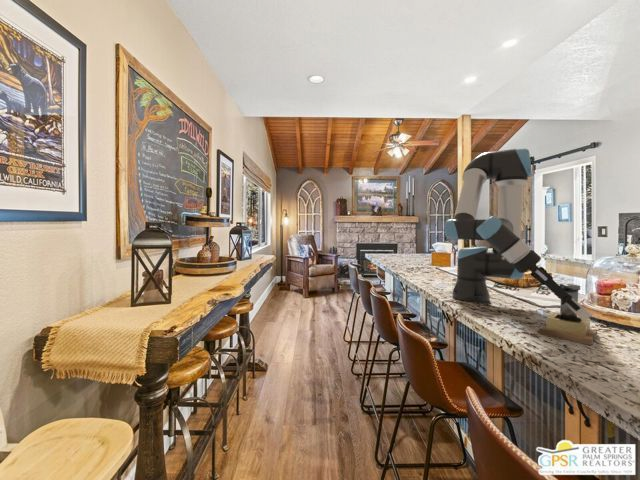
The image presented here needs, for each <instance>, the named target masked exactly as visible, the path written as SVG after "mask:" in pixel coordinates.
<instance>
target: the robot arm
mask: <svg viewBox="0 0 640 480" xmlns="http://www.w3.org/2000/svg"><path fill="white" fill-rule="evenodd" d="M532 172H533V171H532V162H531V155H530V150H529V149H527V148H512V149H505V150H504V149H503V150H497V151H486V152H483V153H481V154H479V155H478V156H476V157H475V158H473V159H472V160H471V161H470V162H468V165H467V166H466V167H465V168H464V170H463V173H462V177H461V178H462V181H463V183H462V187H461V190H460V193H459V198H458V201H457V205H456V209H455V212H454V216H453V218H450V219H447V220H446V221H445V223H444V229H443V230H444V234H445V235H444V236H445V238H447V239H449V240H450V239H451V240H457V241H458V240H465V241H466V240H472V241H485V242H486V243H488V245H489V246H491V248H492V250H490V249H488V247H487V246H474V247H463V248H459V250H458V253H457V269H456V271H457V273H456V274H457V275H456V282H455V285H454V286H453V290H452V295H451V296H452V298H453V299H456V300H460V301H464V302H471V303H485V302H486V303H487V302H490V297H491V296H490V293H489V289H488V286H487V282H486V281H487V280H486V279H487V278H486V277H489V278H498V279H499V278H500V279H509V280H521V279H523V278H524V276H525V274H526V272H527V271H530V272H531V273H529V275H530V276H531V277H532V278H533V279H535V280H537V281H538V282H539V283H540V284H541V285H542V286H546V287H547V288H548V290H550V291H551V292H552V293H553V295H555V296H556V298H558V299H559V300H560V301H561V300H562V303H561V302H560V305H561V304H562V305H563V304H565V305H567V306H568V307H569V308H570V309H571V310H572V311H573V312H574V313H575V314H576V315H577V316H578V317H579V318H580V319H582V320H583V321H584V320H586V319H587V318H589V319H590V317H592V316H593V315H592V314H591V313H590V312H589V311H588V310H587V309H586V308H585V307H584V306H582V304H581V303H579V301H578V302H577V301H576V300H575V299H574V298H572V296H571V295H569V294H568V293H567V292H566V291H565V290H564V289H562V288H561V287H560V284H558V283H557V282H556V281H555V280H554V277H553V276H552V275H550V274H549V273H548V272H547V270H546V269H545V268H544V267H543V266H538V265H537V264H538V263H540V261H541V259H542V257H541V256H540V255H539V254H538V253H537V252H536V251H534V250H533V249H531V247H530V245H528V244H527V243H526V242H525V241H524V240H523V239H522V237H521V236H522V235H521V234H522V233H521V232H522V213H523V187H524V185H525V184H526V183H528V178H531V177H532V176H533V174H532ZM487 180H494V183H495V184H496V186H498V199H497V200H498V201H497V217H496V216H495V215H491V216H490V217H488V218H487V219H476V218H477V213H478V209H479V203H480V199H481V196H482V195H481V194H482V192H483V187H484V186H483V185H484V184H485V183H486V182H487Z"/></svg>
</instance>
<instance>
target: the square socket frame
mask: <svg viewBox="0 0 640 480" xmlns="http://www.w3.org/2000/svg"><path fill="white" fill-rule="evenodd" d="M546 323H547V324H546V329H548V330H553V331H558V332H563V333H567V334H572V335H577V336H582V337H585V336H586V335H587V333H588V332H589V330H590V329H591V318H590V317H589V318H587V319H586V320H584V321H583V320H582V319H580V318H579V317H578V316H577V322H574V321H569V320H563V319H560V312H553V311H552V313H551V314H549V315H548V316H547V317H546Z"/></svg>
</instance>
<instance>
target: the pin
mask: <svg viewBox="0 0 640 480" xmlns="http://www.w3.org/2000/svg"><path fill="white" fill-rule="evenodd" d="M559 286H560V287H561V288H562V289H564V290H565V291H566V292H567V293H568V294H569V295H571V296H572V298H574V299H575V300H576V301H577V302H578V303H579V291H581V285H579V284H573V283H560V284H559ZM561 303H562V300H560V308H559V309H560V310H559V313H560V319H563V320H569V321H574V322H577V315H576V314H575V313H574V312H573V311H572V310H571V309H570V308H569V307H568V306H567V305H565V304H563V305H562V304H561Z"/></svg>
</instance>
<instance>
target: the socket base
mask: <svg viewBox="0 0 640 480" xmlns="http://www.w3.org/2000/svg"><path fill="white" fill-rule="evenodd" d="M546 324H547V322H545V323H543V324H542V326H541V327H539V328H538V334H539V335H542V336H548V337H551V338H557V339H561V340H566V341H570V342H573V343H574V342H575V343H579V344H584V345H586V346H587V345H588V346H592V344H593V343H594V341H595V339H596V337H597V335H598V330H597V329H592V328H590V330H589V332H588V333H587V335H586V336H585V337H582V336H577V335H572V334H567V333H563V332H558V331H553V330H548V329H546Z"/></svg>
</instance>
